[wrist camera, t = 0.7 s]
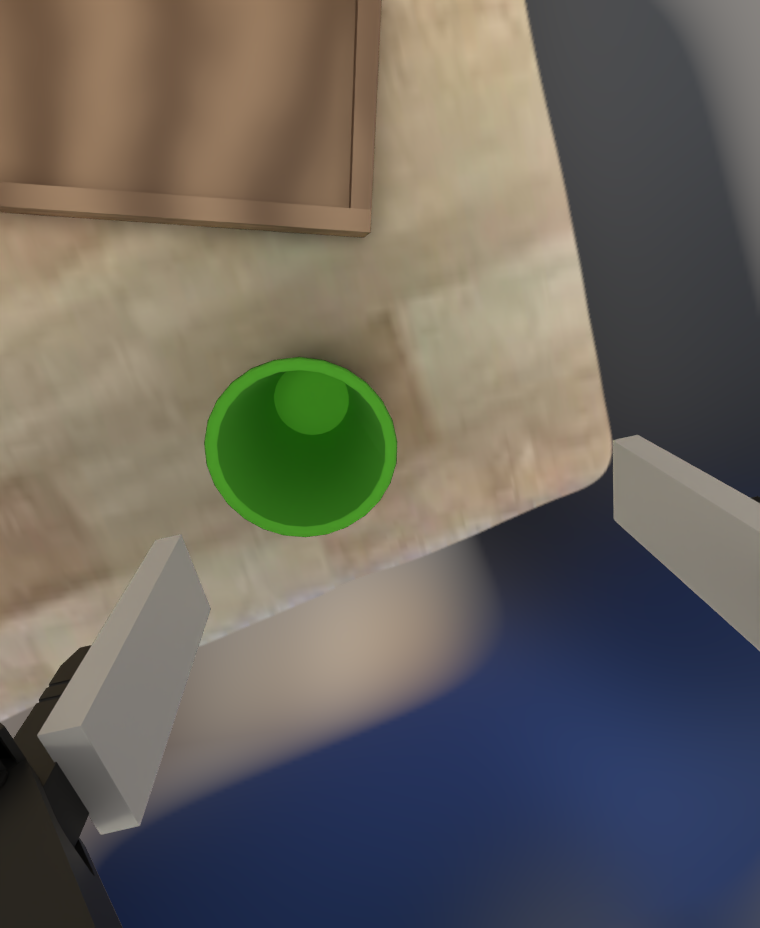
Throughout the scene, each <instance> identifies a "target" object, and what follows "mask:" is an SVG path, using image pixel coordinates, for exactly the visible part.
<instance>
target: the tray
mask: <svg viewBox="0 0 760 928" xmlns="http://www.w3.org/2000/svg"><path fill="white" fill-rule="evenodd" d="M381 1H382V0H0V212H5V213H19V214H34V215H48V216H62V217H77V218H91V219H105V220H120V221H134V222H148V223H163V224H177V225H192V226H206V227H220V228H235V229H249V230H263V231H278V232H292V233H307V234H321V235H335V236H350V237H365V236H366V235H368V234H369V233H370V229H371V208H372V187H373V166H374V146H375V125H376V104H377V84H378V63H379V42H380V22H381Z"/></svg>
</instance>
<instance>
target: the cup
mask: <svg viewBox="0 0 760 928" xmlns="http://www.w3.org/2000/svg"><path fill="white" fill-rule="evenodd" d="M204 445H205V454H206V463H207V467H208V469H209V472H210V475H211V477H212V480H213V482H214V485H215V486H216V488H217V489H218V491H219V492H220V494H221V495H222V496H223V498H224V499H225V501H226V502H227V503H228V504H229V505H230V506H231V507H232V508H233V509H234V510H235V511H236V512H237V513H239V514H240V515H241V516H242V517H243V518H244V519H246V520H248V521H250V522H251V523H253V524H255V525H257V526H259V527H260V528H262V529H265V530H268V531H271V532H275V533H278V534H281V535H286V536H298V537H310V536H318V535H326V534H329V533H332V532H335V531H338V530H340V529H343V528H346V527H348V526H349V525H351V524H353V523H354V522H356V521H357V520H359V519H360V518H362V517H364V516H365V515H366V514H367V513H368V512H369V511H370V510H371V509H372V508H373V507H374V506H375V505H376V504H377V503H378V502H379V501H380V500H381V498H382V496H383V494H384V493H385V491H386V489H387V488H388V486H389V484H390V483H391V479H392V476H393V473H394V469H395V466H396V461H397V439H396V434H395V430H394V425H393V421H392V418H391V417H390V415H389V413H388V411H387V409H386V407H385V405H384V403H383V401H382V400H381V398H380V397H379V396H378V395H377V394H376V393H375V392H374V390H373V389H372V388H371V387H370V386H369V385H368V384H367V383H366V382H365V381H364V380H362V379H361V378H359V377H358V376H356V375H355V374H353V373H352V372H351V371H349V370H348V369H346V368H343V367H340V366H338V365H335V364H333V363H330V362H327V361H325V360H319V359H311V358H303V357H295V358H286V359H277V360H273V361H270V362H267V363H265V364H262V365H259V366H257V367H254V368H251V369H250V370H249V371H247V372H246V373H244V374H243V375H241V376H240V377H239V378H237V379H236V380H234V381H233V382H232V383H231V384H230V385H229V386H228V388H227V389H226V390H225V391H224V392H223V394H222V395H221V396H220V397H219V398H218V400H217V401H216V403H215V406H214V408H213V410H212V412H211V415H210V417H209V419H208V422H207V428H206V435H205V441H204Z"/></svg>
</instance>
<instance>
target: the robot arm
mask: <svg viewBox="0 0 760 928" xmlns="http://www.w3.org/2000/svg"><path fill="white" fill-rule="evenodd" d="M613 488H614V490H613V492H614V520H615V521H616V522H617V523H618V524H619V525H620V526H622V527H623V528H624V529H625V530H626V531H627V532H628V533H629V534H630V535H632V536H633V537H634V538H635V539H636V540H637V541H638V542H639V543H641V544H642V545H643V546H644V547H645V548H646V549H647V550H648V551H649V552H650V553H652V554H653V555H654V556H655V557H656V558H657V559H658V560H659V561H660V562H662V563H663V564H664V565H665V566H666V567H667V568H668V569H669V570H670V571H672V572H673V573H674V574H675V575H676V576H677V577H678V578H679V579H680V580H682V581H683V582H684V583H685V584H686V585H687V586H688V587H689V588H690V589H692V590H693V591H694V592H695V593H696V594H697V595H698V596H699V597H700V598H702V599H703V600H704V601H705V602H706V603H707V604H708V605H709V606H710V607H712V608H713V609H714V610H715V611H716V612H717V613H718V614H719V615H720V616H722V617H723V618H724V619H725V620H726V621H727V622H728V623H729V624H730V625H732V626H733V627H734V628H735V629H736V630H737V631H738V632H739V633H741V634H742V635H743V636H744V637H745V638H746V639H747V640H748V641H749V642H750V643H752V644H753V645H754V646H755V647H756V648H757V649H758V650H759V651H760V497H758V496H757V497H752V498H749V497H748V496H746V495H744V494H742V493H740V492H738V491H737V490H735V489H733V488H731V487H730V486H728V485H726V484H724V483H723V482H721V481H719V480H717V479H715V478H713V477H712V476H710V475H708V474H706V473H705V472H703V471H701V470H699V469H697V468H696V467H694V466H692V465H690V464H689V463H687V462H685V461H683V460H681V459H680V458H678V457H676V456H674V455H673V454H671V453H669V452H667V451H665V450H664V449H662V448H660V447H658V446H657V445H655V444H653V443H651V442H649V441H648V440H646V439H644V438H642V437H640V436H639V435H635V436H631V437H626V438H621V439H617V440H613ZM210 610H211V608H210V605H209V603H208V600H207V598H206V595H205V593H204V590H203V588H202V585H201V583H200V580H199V578H198V575H197V573H196V570H195V568H194V565H193V563H192V560H191V557H190V555H189V552H188V550H187V547H186V545H185V542H184V540H183V537H182V535H181V534H180V535H175V536H171V537H166V538H161V539H157V540H155V542H154V543H153V545H152V546H151V548H150V550H149V551H148V553H147V555H146V556H145V558H144V560H143V561H142V563H141V565H140V566H139V568H138V570H137V571H136V573H135V575H134V576H133V578H132V580H131V581H130V583H129V584H128V586H127V588H126V589H125V591H124V593H123V594H122V596H121V598H120V599H119V601H118V603H117V604H116V606H115V608H114V609H113V611H112V613H111V614H110V616H109V617H108V619H107V621H106V622H105V624H104V626H103V627H102V629H101V631H100V632H99V634H98V636H97V637H96V639H95V641H94V642H93V644H92V645H90V646H85V647H81V648H79V649H78V650H77V651H76V652H75V653H74V654H73V655H72V656H71V657H70V658H69V659H67V660H66V661H65V662H64V663H63V664H62V665H61V666H60V668H59V669H58V671H57V673H56V674H55V676H54V677H53V679H52V680H51V682H50V683H49V687H48V688H46V689H45V691H44V693H43V694H42V696H41V697H40V699H39V703H36V705H35V706H34V708H33V710H32V711H31V713H30V714H29V716H28V717H27V719H26V720H25V722H24V723H23V725H22V726H21V728H20V729H19V731H18V732H17V734H16V736H15V737H14V739H13V738H12V737H11V735H10V734H9V732H8V731H7V729H6V728H5V726H4V725H2V724H1V723H0V928H123V927H122V925H121V923H120V921H119V919H118V917H117V914H116V912H115V910H114V908H113V906H112V903H111V902H110V899H109V897H108V895H107V892H106V890H105V888H104V886H103V884H102V882H101V879H100V877H99V875H98V873H97V871H96V869H95V866H94V864H93V862H92V860H91V858H90V855H89V853H88V851H87V849H86V847H85V845H84V844H83V842H82V841H81V839H80V838H79V836H80V834H81V831H82V829H83V827H84V825H85V822H86V820H87V817H88V816H89V817H90V819H91V820H92V822H93V823H94V825H95V826H96V828H97V829H98V831H99V833H100V834H106V833H110V832H114V831H119V830H123V829H128V828H132V827H136V826H140V823H141V820H142V817H143V814H144V811H145V808H146V805H147V802H148V799H149V796H150V792H151V790H152V787H153V783H154V780H155V777H156V774H157V771H158V768H159V765H160V762H161V759H162V756H163V753H164V750H165V747H166V743H167V741H168V738H169V735H170V732H171V729H172V726H173V723H174V720H175V716H176V713H177V710H178V707H179V704H180V701H181V698H182V695H183V692H184V689H185V686H186V683H187V680H188V677H189V673H190V670H191V667H192V664H193V662H194V658H195V655H196V652H197V649H198V646H199V643H200V640H201V637H202V634H203V631H204V628H205V625H206V622H207V619H208V616H209V613H210Z"/></svg>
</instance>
